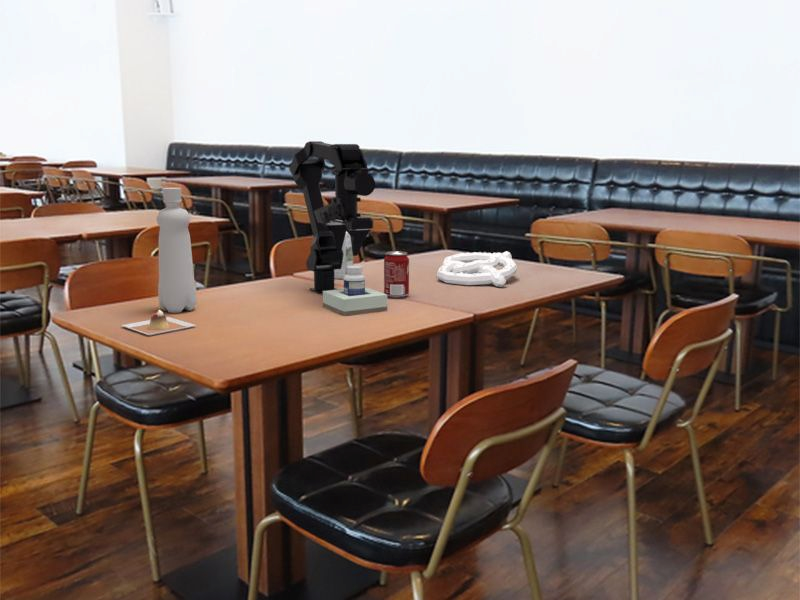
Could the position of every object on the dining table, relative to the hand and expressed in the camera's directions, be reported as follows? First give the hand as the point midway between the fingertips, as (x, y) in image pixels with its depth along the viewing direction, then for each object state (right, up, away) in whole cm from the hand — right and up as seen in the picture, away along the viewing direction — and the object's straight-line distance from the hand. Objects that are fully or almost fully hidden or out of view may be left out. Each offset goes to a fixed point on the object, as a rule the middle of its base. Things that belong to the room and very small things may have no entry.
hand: (346, 253), depth 202 cm
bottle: (-41, -15, -10) cm, 45 cm away
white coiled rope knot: (+38, -6, +35) cm, 52 cm away
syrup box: (-4, -5, +36) cm, 36 cm away
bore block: (+3, -14, -7) cm, 16 cm away
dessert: (-41, -19, -28) cm, 53 cm away
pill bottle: (+2, -14, -7) cm, 16 cm away
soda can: (+13, -11, +8) cm, 19 cm away
